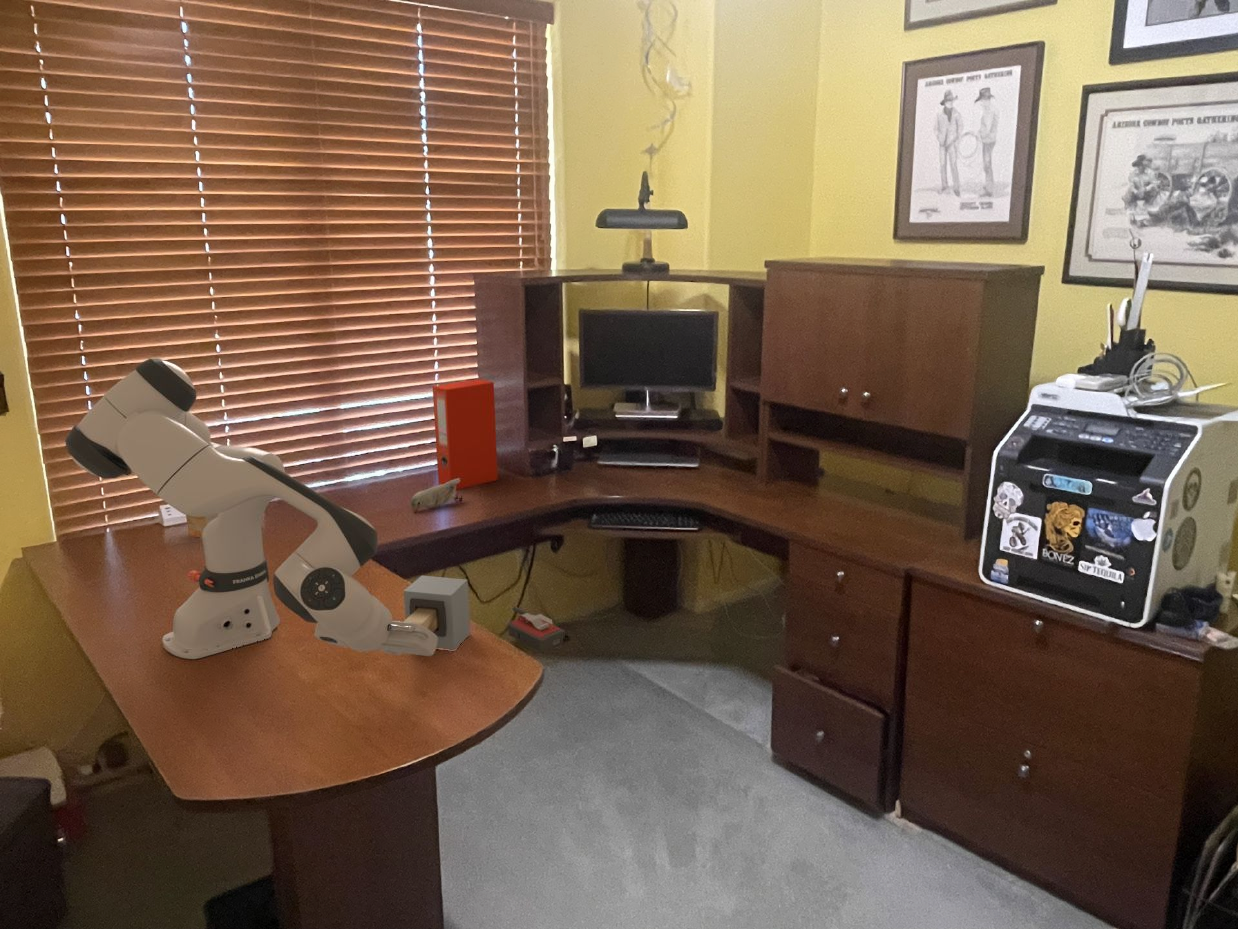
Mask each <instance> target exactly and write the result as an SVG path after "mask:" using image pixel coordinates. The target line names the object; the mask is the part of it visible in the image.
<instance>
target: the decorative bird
mask: <svg viewBox="0 0 1238 929" xmlns="http://www.w3.org/2000/svg"><path fill="white" fill-rule="evenodd" d="M459 479H460V478H458V479H454V480H451V481H449V482H447V483H445V484H441V485H439V484H438V485H434V486H431V487H429V488H428V489H424V490H419V491H418V492H416V493H415V494H414V495H413V496H412V498H411V502H410V505H411V510H412V512H413V513H416V512H417V511H418V510H419V509H421V508H423V507H424V508H427V509H433V508H437V507H438V508H439V507H440V506H442V505H445V504H446V503H449V502H451V501H452V499H453V498H454V499H453V500H454V501H455V502H456V501H457V502H459V503H463V495H461V497H458V493H459V492H457V493H456V491H457V490H456V484H458V483H459V482H460V480H459Z"/></svg>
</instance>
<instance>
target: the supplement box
mask: <svg viewBox="0 0 1238 929" xmlns="http://www.w3.org/2000/svg"><path fill="white" fill-rule="evenodd" d="M218 514H219V513H218ZM218 514H215V515H211V516H206V517H193V516H188V515H185V517H186V518H185V519H186V524H187V532H188V535H189V536H193V537H197V538H201V539H202V533H203V530H204V528H205V527H206V525H207V524H208V523H209V522H211V521H212V520H213V519H215V518H217V517H218Z"/></svg>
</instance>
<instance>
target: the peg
mask: <svg viewBox="0 0 1238 929" xmlns="http://www.w3.org/2000/svg"><path fill="white" fill-rule="evenodd" d="M403 622H410V623H416V624H420V625H422V626H424V627H426V628H427V629H429V630H430V631H432V632H434V631H435V630H436V629H437V628H438V627H439V620H438V608H430V607H419V608H418V609H417V610H415V611H414V612H413V613H412V614H411V615H410V616H409V617H408V618H407V619H406V618H405V620H403Z"/></svg>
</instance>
